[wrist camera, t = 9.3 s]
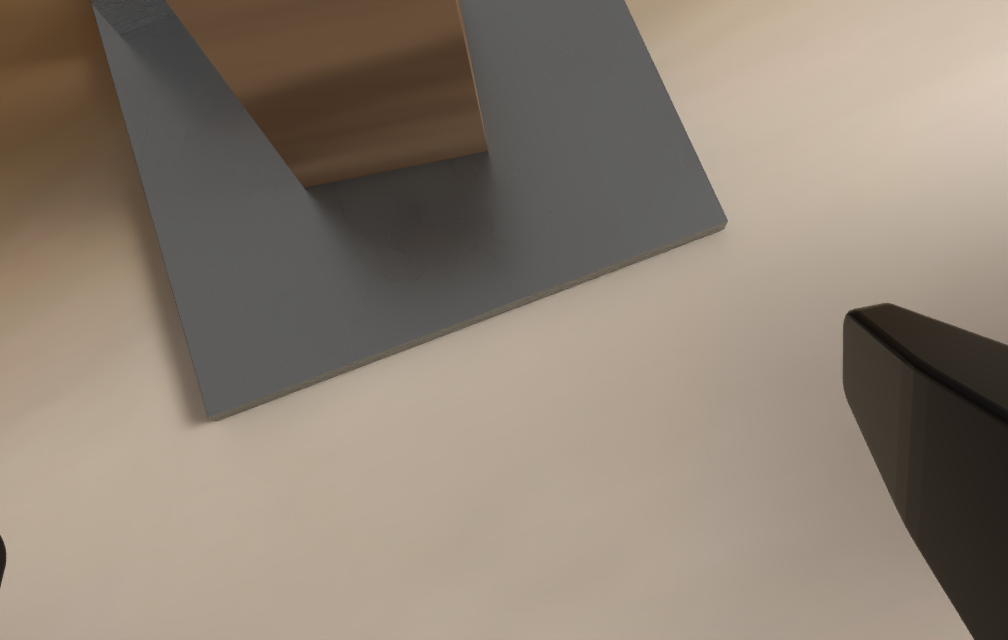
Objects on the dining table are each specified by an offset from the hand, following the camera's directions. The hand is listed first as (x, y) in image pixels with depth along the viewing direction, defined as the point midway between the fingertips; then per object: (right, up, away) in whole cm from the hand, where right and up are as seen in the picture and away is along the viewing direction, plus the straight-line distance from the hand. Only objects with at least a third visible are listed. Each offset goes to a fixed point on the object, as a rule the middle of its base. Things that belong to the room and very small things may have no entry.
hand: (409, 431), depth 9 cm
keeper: (-2, +7, +16) cm, 18 cm away
